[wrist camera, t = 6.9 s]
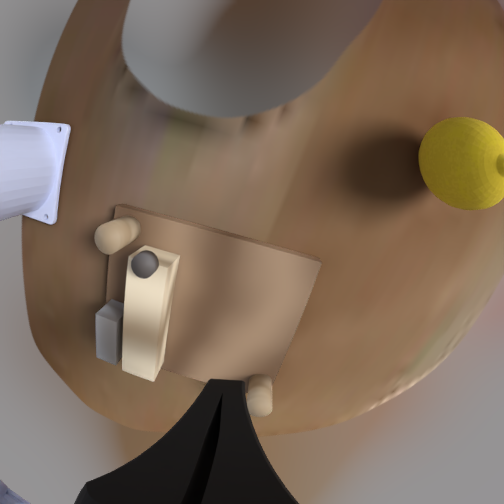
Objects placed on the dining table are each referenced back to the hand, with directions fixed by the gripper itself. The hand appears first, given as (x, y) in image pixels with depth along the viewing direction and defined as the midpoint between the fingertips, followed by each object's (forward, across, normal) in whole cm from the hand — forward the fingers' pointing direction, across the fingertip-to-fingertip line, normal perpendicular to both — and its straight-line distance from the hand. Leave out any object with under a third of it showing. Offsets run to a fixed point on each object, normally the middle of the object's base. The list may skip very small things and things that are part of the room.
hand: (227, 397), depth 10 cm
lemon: (+10, -13, -10) cm, 19 cm away
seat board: (+10, +3, +1) cm, 11 cm away
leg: (+9, +6, +1) cm, 11 cm away
